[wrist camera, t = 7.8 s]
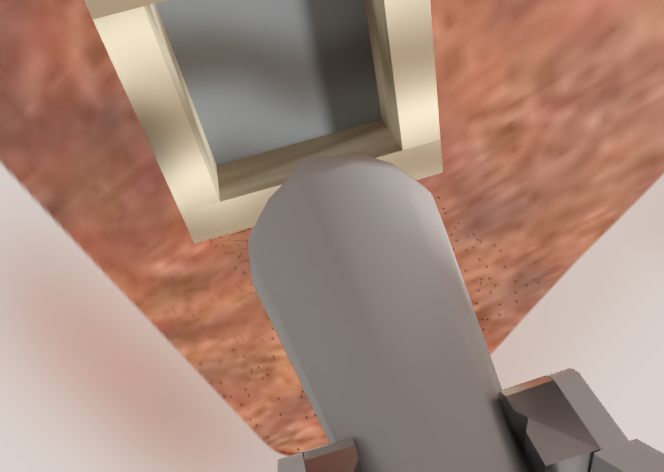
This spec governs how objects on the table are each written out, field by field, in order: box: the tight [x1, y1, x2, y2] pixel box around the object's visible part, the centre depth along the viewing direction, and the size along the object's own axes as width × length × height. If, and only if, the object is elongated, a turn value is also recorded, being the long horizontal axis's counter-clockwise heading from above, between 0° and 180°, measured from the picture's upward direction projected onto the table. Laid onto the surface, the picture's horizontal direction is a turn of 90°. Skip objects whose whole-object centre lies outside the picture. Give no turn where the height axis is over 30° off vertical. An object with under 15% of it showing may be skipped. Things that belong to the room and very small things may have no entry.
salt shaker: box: [248, 154, 528, 472], centre depth 13 cm, size 6×6×13 cm
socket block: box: [84, 0, 443, 243], centre depth 26 cm, size 14×14×4 cm
